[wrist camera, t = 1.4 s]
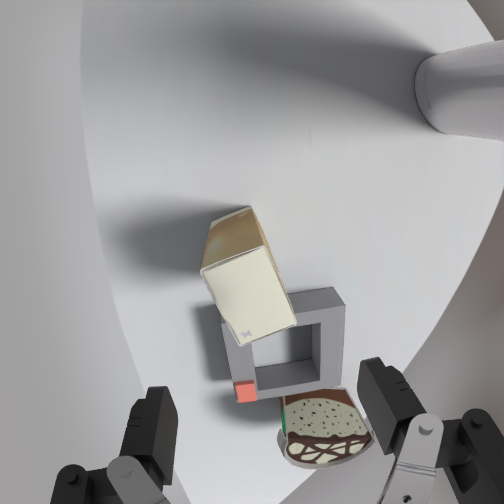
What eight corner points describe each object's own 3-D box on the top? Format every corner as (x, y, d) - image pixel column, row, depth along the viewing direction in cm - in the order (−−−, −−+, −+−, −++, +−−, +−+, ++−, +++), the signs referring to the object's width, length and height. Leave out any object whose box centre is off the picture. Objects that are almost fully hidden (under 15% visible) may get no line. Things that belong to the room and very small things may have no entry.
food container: (257, 412, 40) (264, 471, 30) (270, 381, 38) (282, 443, 28) (336, 417, 42) (355, 469, 32) (354, 388, 40) (379, 441, 30)
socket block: (333, 286, 34) (347, 308, 29) (331, 364, 37) (342, 388, 33) (221, 303, 33) (221, 327, 29) (235, 379, 37) (237, 405, 33)
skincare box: (274, 260, 32) (301, 328, 20) (234, 276, 32) (240, 351, 21) (250, 201, 30) (266, 243, 18) (207, 219, 30) (197, 271, 19)
